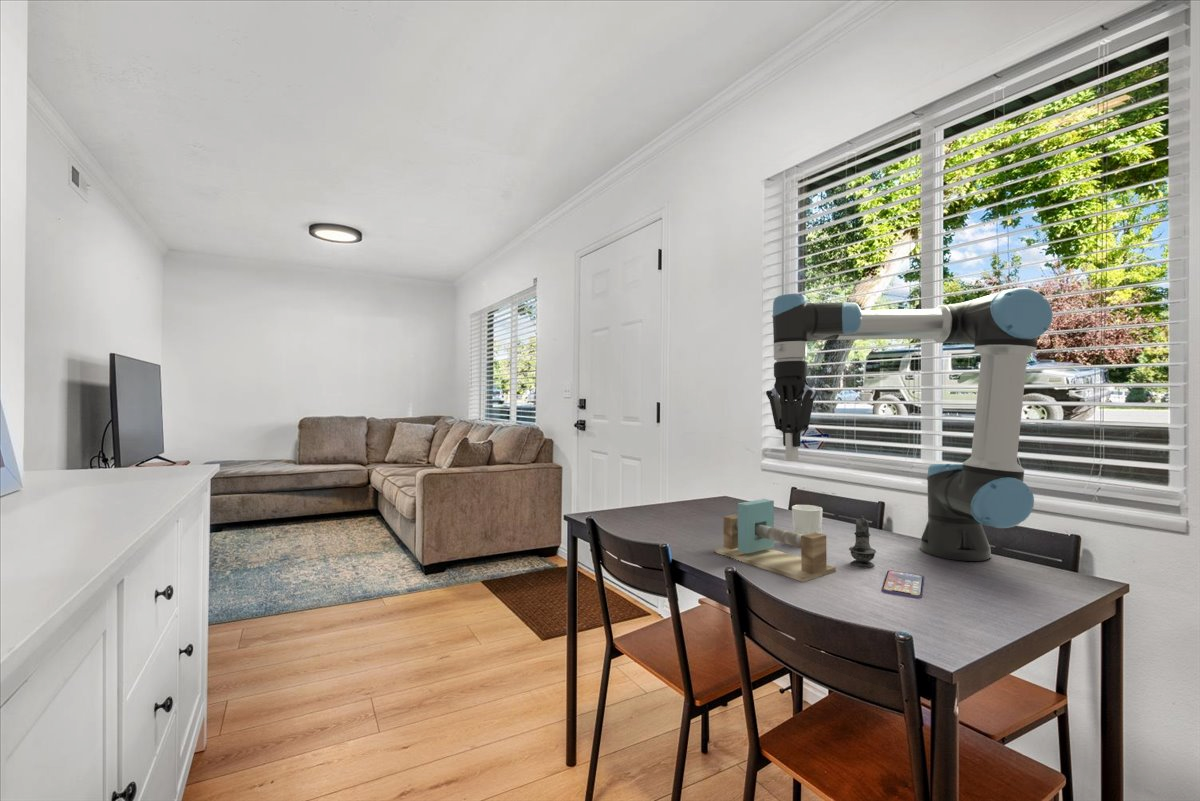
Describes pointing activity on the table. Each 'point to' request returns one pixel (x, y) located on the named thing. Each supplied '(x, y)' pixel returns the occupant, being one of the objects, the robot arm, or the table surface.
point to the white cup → (807, 519)
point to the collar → (747, 518)
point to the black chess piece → (862, 545)
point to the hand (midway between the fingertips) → (792, 460)
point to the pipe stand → (776, 561)
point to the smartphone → (903, 584)
